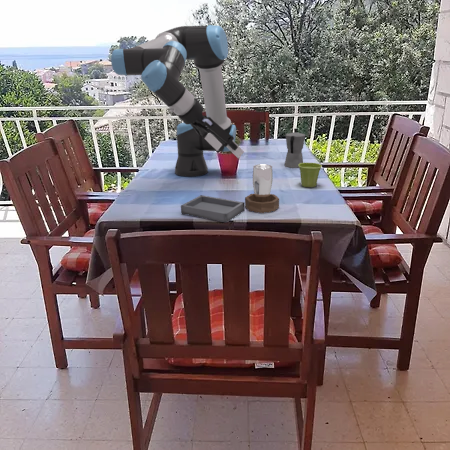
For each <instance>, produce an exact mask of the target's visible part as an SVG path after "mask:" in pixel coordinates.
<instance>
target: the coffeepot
mask: <svg viewBox="0 0 450 450" xmlns="http://www.w3.org/2000/svg"><path fill="white" fill-rule="evenodd" d="M305 140H306V134H305V133H301V132H298V128H294V129H293V132H290V133H285V142H286V143H285V144H286V149H287V152H286V156H285V160H284V166H285V167H286V168H289V169H299V166H298V165H299V164H300V163H304V159H303V153H302V152H303V149H304V144H305Z"/></svg>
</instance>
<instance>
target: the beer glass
mask: <svg viewBox="0 0 450 450" xmlns="http://www.w3.org/2000/svg"><path fill="white" fill-rule="evenodd" d="M252 169H253V170H252V187H253V194H255V202H261V203H262V202H270V194H271V191H272V186H273V166H272V165H271V164H266V163H265V164H262V163H261V164H260V163H259V164H255V165H253V168H252Z"/></svg>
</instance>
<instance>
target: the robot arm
mask: <svg viewBox="0 0 450 450" xmlns="http://www.w3.org/2000/svg"><path fill="white" fill-rule="evenodd" d="M228 43H229V42H228V38H227V34H226V32H225V30H224V29H223V27H222V26H220V25H212V24H208V25H182V26H176V27H173V28H171V29H168V30H165V31H163V32H161V33H159V34H157V36H156V37H155V38H154V39H151V40H148V41H146V42H143V43H141V44H138V45H135V46H132V47H130V48H116V49H114V50H113V51H112V52H111V56H110V62H111V68H112V70H113V72H114V73H115V74H116V75H119V76H126V77H127V76H140V78H141V80H142V82H143V84H144V85H145V86H146V87H147V89H148V90H149V91H151V93H153V94H154V95H155V96H156V97H157V98H158V99H160V100H161V101H162V103H164V104H165V106H167V107H168V108H169V112H170V113H174V114H175V115H177V117H178V118H179V119H180V121H182V122H181V123H179V124H177V126H176V133H175V134H176V144H177V145H176V146H177V160H176V163H175V166H174V174H175V175H176V176H180V177H193V178H194V177H200V176H203V175H206V174H208V173H209V172H208V170H209V169H208V168H209V167H208V165H207V161H206V159H205V156H204V151H205V152H222V153H224V152H231V153H232V154H233V155H234V156H235V157H236V158H237V159H240V158H241V156H243V154H244V153H245V151H244V150H243V149H242V148H241V147H240V146H239V144H237V143H236V137H237V136H236V135H237V127H236V125H235V124H232V121H231V119H230V118H229V117H228V115H227V105H226V104H227V103H226V98H225V97H226V96H225V89H224V81H223V80H224V79H223V71H222V66H223V65H224V64H225V60H226V59H227V58H228V54H229V48H228V47H229V44H228ZM187 60H193V62H194V66H195V68H197V69H198V70H199V74H200V76H199V77H200V82H201V89H202V95H203V101H204V106H203V104H202V103H201V102H199V100H198V99H197V98H195V96H194V94H193V93H191V92H190V91H189V90H188V89H187V87H186V86H184V85H183V84H182V82H180V77H181V74H182V71H183V68H184V67H185V65H186V61H187ZM204 109H205V115H203V111H204Z"/></svg>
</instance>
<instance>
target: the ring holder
mask: <svg viewBox="0 0 450 450" xmlns="http://www.w3.org/2000/svg"><path fill="white" fill-rule="evenodd" d="M244 208H246V209H247V210H248V212H252V211H254V212H253V213H258V212H259V214H265V213H264V212H267V213H272V212H271V211H274V212H276V211H277V210H278V209H279V208H280V198H279V197H278V196H277V195H276V194H273V193H270V202H262V203H261V202H255V194H254V193H250V194H248V195H247V196H246V197H245V198H244ZM276 209H277V210H276Z"/></svg>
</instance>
